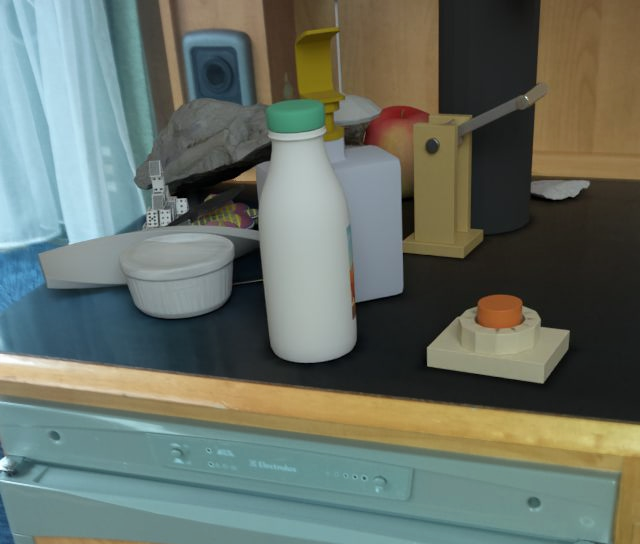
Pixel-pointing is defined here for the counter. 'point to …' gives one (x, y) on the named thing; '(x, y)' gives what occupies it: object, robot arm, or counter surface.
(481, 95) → the vase
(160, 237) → the ramekin
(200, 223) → the decorative ornament
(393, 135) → the apple
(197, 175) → the stone
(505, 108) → the lever
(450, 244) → the bracket
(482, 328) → the button block
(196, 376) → the counter surface
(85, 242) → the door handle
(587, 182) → the stone
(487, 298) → the button
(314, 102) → the milk bottle
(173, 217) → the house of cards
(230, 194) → the machete
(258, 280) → the knife
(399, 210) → the soap bottle
